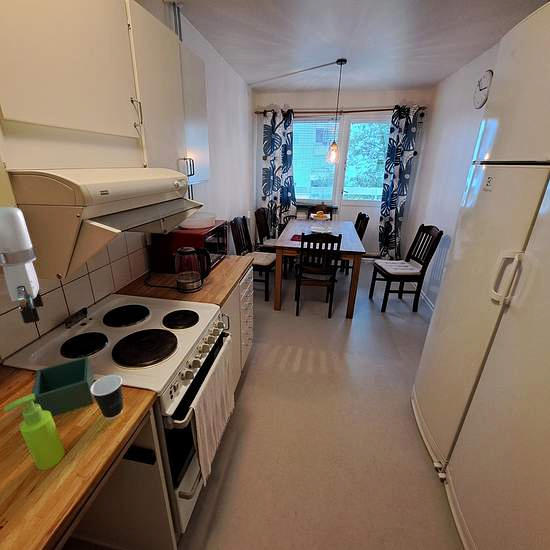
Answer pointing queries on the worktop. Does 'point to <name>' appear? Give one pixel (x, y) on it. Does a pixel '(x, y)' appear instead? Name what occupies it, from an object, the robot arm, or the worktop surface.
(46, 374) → the bin
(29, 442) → the soap dispenser
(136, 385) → the worktop surface
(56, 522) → the worktop surface
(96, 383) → the dixie cup
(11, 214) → the robot arm
